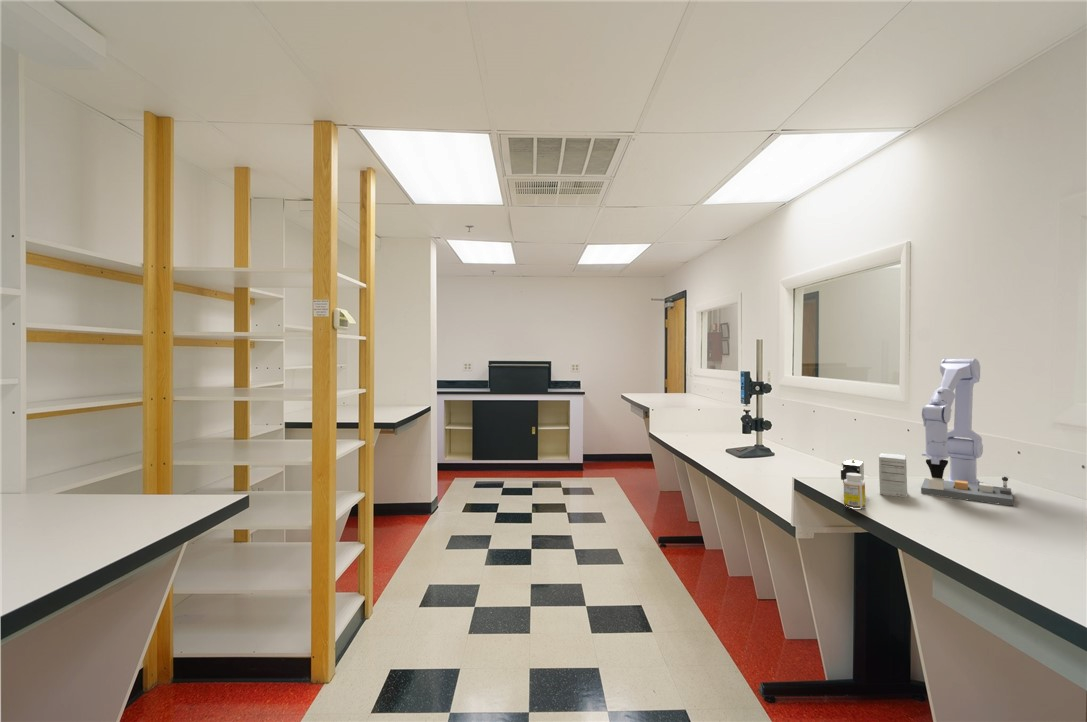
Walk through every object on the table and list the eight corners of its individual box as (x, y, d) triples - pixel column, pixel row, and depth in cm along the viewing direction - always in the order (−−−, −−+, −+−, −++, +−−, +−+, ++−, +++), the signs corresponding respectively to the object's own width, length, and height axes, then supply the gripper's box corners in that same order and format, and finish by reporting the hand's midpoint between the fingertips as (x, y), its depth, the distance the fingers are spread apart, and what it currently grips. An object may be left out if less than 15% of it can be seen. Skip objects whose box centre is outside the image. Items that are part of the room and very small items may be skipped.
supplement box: (880, 489, 169) (880, 452, 168) (907, 492, 164) (906, 454, 164) (878, 494, 163) (878, 456, 163) (906, 498, 158) (906, 459, 158)
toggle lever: (1001, 487, 155) (1001, 476, 156) (1008, 488, 154) (1008, 477, 155) (1002, 486, 154) (1001, 475, 155) (1008, 487, 153) (1008, 476, 154)
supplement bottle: (858, 504, 153) (857, 471, 153) (869, 510, 147) (869, 476, 147) (840, 504, 153) (839, 472, 153) (851, 510, 148) (850, 476, 147)
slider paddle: (930, 486, 163) (929, 477, 163) (944, 488, 160) (943, 478, 160) (929, 488, 160) (929, 479, 160) (943, 490, 158) (943, 480, 158)
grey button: (979, 490, 159) (979, 482, 159) (992, 492, 157) (992, 484, 157) (979, 492, 157) (979, 484, 157) (992, 494, 155) (992, 486, 155)
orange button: (955, 487, 163) (955, 480, 163) (968, 489, 161) (967, 481, 161) (954, 489, 161) (954, 482, 161) (967, 491, 159) (967, 483, 159)
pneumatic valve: (864, 492, 165) (864, 457, 165) (859, 501, 156) (859, 463, 156) (845, 489, 169) (845, 455, 169) (839, 498, 160) (838, 461, 160)
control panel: (925, 483, 174) (925, 475, 174) (1011, 494, 159) (1010, 485, 159) (921, 493, 162) (921, 484, 162) (1013, 506, 148) (1012, 496, 148)
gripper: (923, 436, 170) (924, 475, 170) (919, 443, 159) (919, 484, 160) (949, 438, 166) (950, 478, 166) (947, 445, 155) (948, 488, 155)
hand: (937, 481), depth 162 cm, fingers closed
